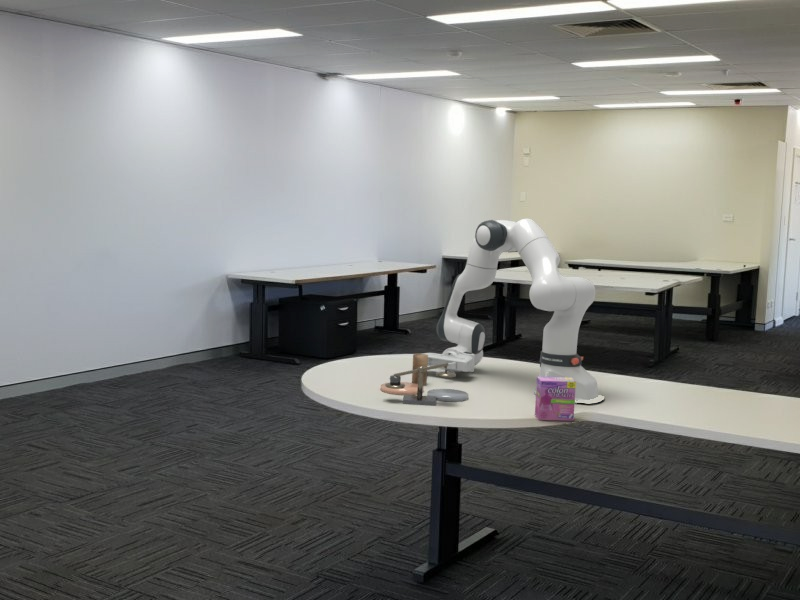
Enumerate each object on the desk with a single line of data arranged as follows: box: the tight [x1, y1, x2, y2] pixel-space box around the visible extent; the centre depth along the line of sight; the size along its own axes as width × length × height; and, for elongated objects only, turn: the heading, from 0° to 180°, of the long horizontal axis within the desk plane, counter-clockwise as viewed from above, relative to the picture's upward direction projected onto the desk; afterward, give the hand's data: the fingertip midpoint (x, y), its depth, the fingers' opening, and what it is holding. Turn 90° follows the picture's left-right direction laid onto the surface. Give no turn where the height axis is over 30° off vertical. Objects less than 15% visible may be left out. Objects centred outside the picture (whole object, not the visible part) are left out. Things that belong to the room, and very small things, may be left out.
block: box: [411, 353, 428, 387], centre depth 283 cm, size 5×5×10 cm
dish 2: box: [426, 388, 469, 403], centre depth 266 cm, size 13×13×1 cm
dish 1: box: [380, 381, 425, 396], centre depth 273 cm, size 14×14×1 cm
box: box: [534, 376, 576, 422], centre depth 243 cm, size 10×6×12 cm, turn 92°
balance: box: [385, 363, 457, 406], centre depth 257 cm, size 21×7×13 cm, turn 87°
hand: (433, 364), depth 290 cm, fingers open, 8 cm apart
